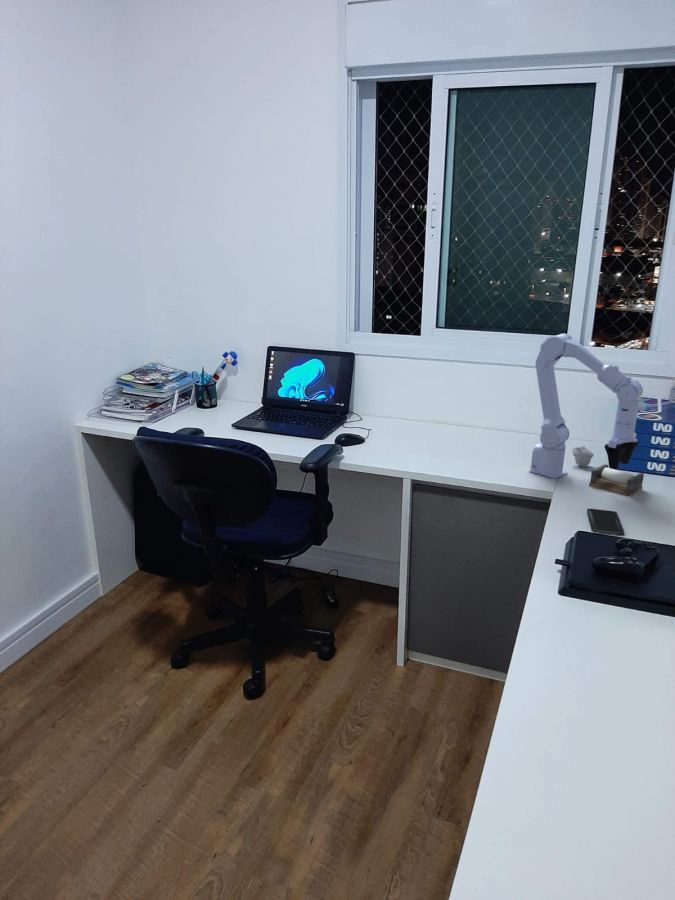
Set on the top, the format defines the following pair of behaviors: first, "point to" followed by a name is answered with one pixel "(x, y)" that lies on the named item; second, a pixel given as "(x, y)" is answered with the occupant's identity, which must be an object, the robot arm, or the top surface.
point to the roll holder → (628, 490)
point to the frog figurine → (582, 455)
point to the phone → (605, 521)
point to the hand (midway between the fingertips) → (618, 466)
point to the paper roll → (616, 476)
